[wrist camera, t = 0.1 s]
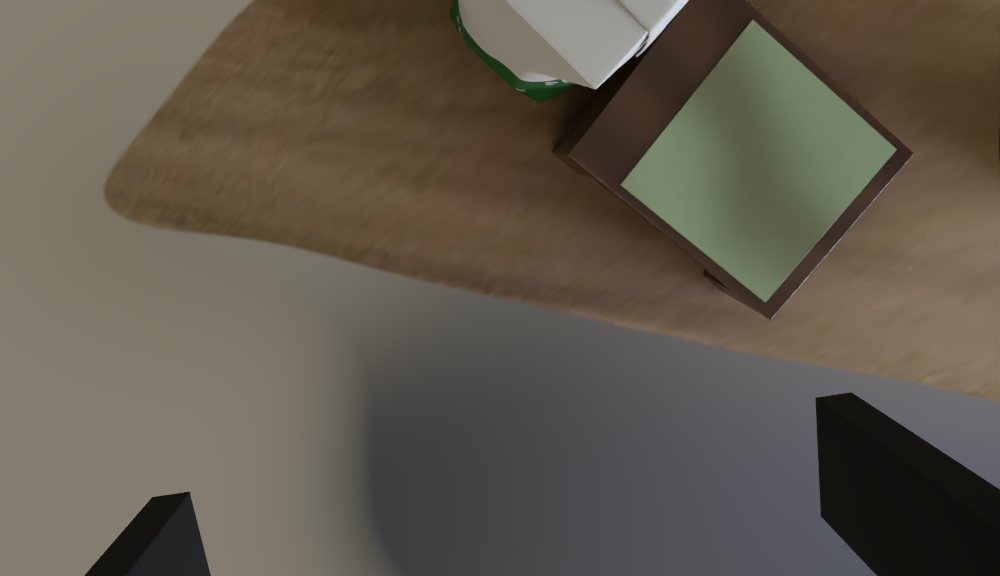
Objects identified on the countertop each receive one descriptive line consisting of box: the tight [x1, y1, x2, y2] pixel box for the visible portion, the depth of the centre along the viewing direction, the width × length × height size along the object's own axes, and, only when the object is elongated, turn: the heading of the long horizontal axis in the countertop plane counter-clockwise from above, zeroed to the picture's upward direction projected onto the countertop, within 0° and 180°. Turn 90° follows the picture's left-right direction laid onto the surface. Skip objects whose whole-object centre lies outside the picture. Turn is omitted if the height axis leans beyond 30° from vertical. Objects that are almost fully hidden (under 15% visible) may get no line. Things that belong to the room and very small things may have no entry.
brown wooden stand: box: [552, 0, 914, 320], centre depth 39 cm, size 11×14×7 cm
